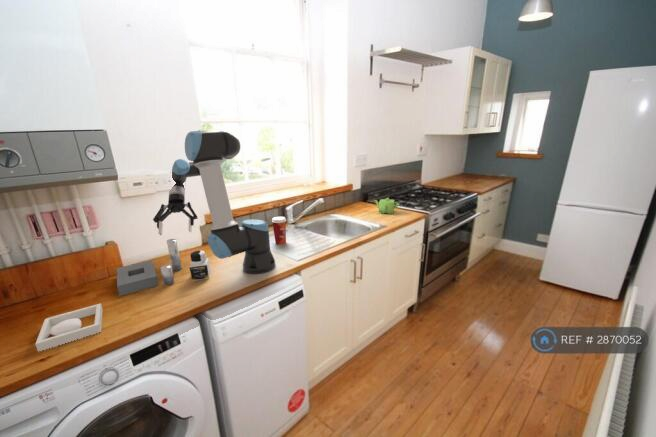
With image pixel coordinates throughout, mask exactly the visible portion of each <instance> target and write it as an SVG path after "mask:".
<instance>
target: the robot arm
mask: <svg viewBox="0 0 656 437" xmlns="http://www.w3.org/2000/svg"><path fill="white" fill-rule="evenodd" d="M240 151H241V142H240V140H239V138H238V137H237V135H236V134H234V133H233V132H231V131H228V130H227V129H226V130H225V129H219V130H218V129H217V130H213V129H212V130H211V129H210V130H206V129H205V130H202V129H200V130H199V129H198V130H193V131H189V132H187V133H186V136H185V139H184V152H185V156H186V159H187V160H186V159H181V158H178V159H176V160H175V161H174V162H173V165H172V169H171V171H172V178H173V180H174V181H175V182H176V184H175V185H174V186H173V187H172V189H171V190H170V191H169V190H168V199H167V200H168V204H163V203H162V204H161V205H160V208H159V210H158V211H157V213H156V214H155V216H154V217H153V218H152V221H153V222H154V224H155V223H156V228H157V229H158V235H160V236H162V235H163V225H164V224H163V222H164V220H166V219H167V218H168V217H169V216H170V215H171V214H175V213H181V212H182V213H183V214H184V215H185V216H186V217H188V231H189V233H192V229H193V228H192V226H193V227H194V223H195V222H194V221H195V220H197V219H198V216H197V213H196V212H195V211H194V209H193V208H192V204H191V202H190V201H188V202H187V203H185V201H186V200H185V199H186V198H185V197H186V187H185V188H184V185H183V183H184V182H185V183H186V181H187V178H193V177H199V176H200V179H201V183H202V186H203V191H204V193H205V194H204V196H205V197H206V203H207V205H208V206H207V207H208V209H209V214H210V219H211V221H212V222H211V223H212V225H211V228H210V229H209V230H210V233H209V234H208V235H207V244H208V247H209V248H210V250H211V252H212V254H214V256H215V257H217V259H220V260H221V259H222V260H223V259H226V258H231V257H234V256H236V255H239V254H242V253H245V254H244V258H243V263H242V268H243V271H244V272H245V273H248V274H253V275H257V274H264V273H267V272H271V271H272V270H273V269H274V268H275V267H276V261H275V260H276V259H275V258H274V255H273V253H272V250H271V244H270V241H271V240H270V232H269V231H270V229H269V225H268V222H266V221H264V220H263V219H257V218H256V219H253V218H252V219H244V220H243V221H241V225H239V223H238V221H236V220H234V217H233V213H232V208H231V203H230V200H229V195H228V192H227V187H226V183H225V179H224V176H223V171H222V166H221V165H222V164H224V163H225V162H226V161H227V160H231V159H234V158H235V157H237V155H238V154H239V153H240ZM188 161H191V162H188ZM185 207H186V208H188V209H189V211H190V212H191V214H190V213H189V212H188V211H187V210H186V209H185Z"/></svg>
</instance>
